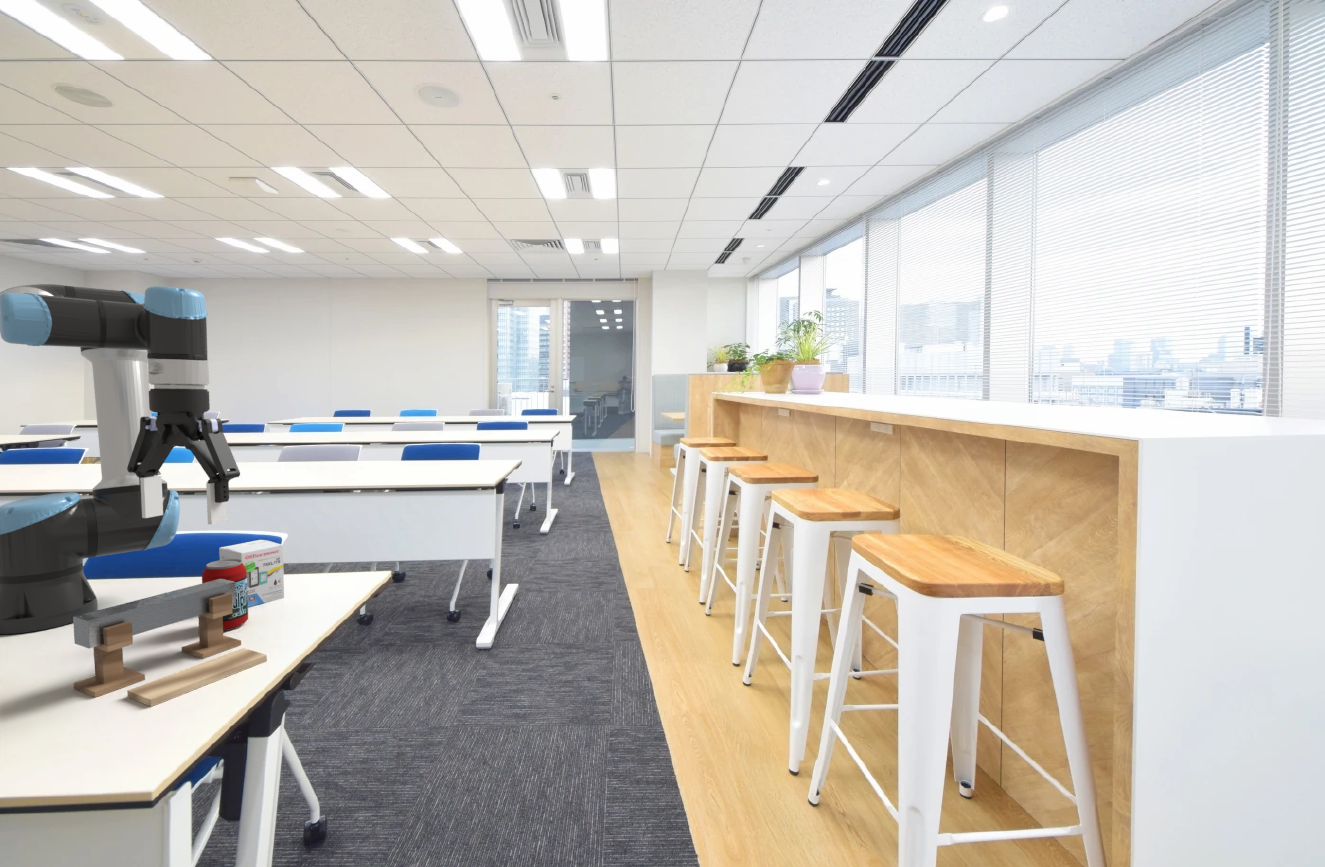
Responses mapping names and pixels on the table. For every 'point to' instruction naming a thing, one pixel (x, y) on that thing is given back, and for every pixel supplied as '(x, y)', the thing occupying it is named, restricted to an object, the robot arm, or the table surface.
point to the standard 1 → (111, 663)
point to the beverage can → (238, 574)
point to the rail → (150, 611)
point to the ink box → (259, 569)
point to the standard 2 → (213, 630)
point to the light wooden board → (195, 677)
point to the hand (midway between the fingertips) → (184, 519)
